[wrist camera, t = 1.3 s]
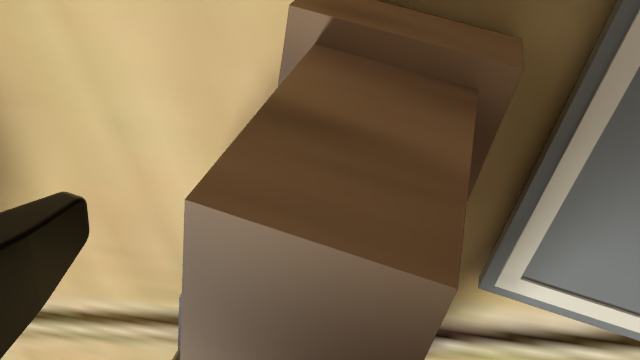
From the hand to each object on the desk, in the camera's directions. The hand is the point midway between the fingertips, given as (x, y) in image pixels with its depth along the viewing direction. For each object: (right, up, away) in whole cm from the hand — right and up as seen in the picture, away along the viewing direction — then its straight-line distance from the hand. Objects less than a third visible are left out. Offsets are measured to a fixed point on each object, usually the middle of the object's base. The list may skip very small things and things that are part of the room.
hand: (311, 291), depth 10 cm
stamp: (+2, +4, +6) cm, 8 cm away
